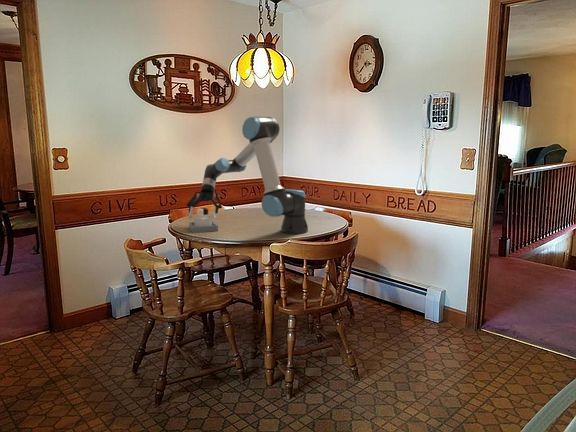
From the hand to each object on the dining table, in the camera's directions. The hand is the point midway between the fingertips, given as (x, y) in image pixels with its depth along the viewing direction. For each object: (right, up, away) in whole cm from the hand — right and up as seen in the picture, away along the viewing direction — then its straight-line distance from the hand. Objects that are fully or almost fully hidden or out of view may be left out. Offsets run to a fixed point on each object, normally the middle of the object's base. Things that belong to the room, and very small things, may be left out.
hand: (202, 217), depth 254 cm
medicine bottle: (+1, -7, +1) cm, 7 cm away
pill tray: (+1, -7, +1) cm, 7 cm away
